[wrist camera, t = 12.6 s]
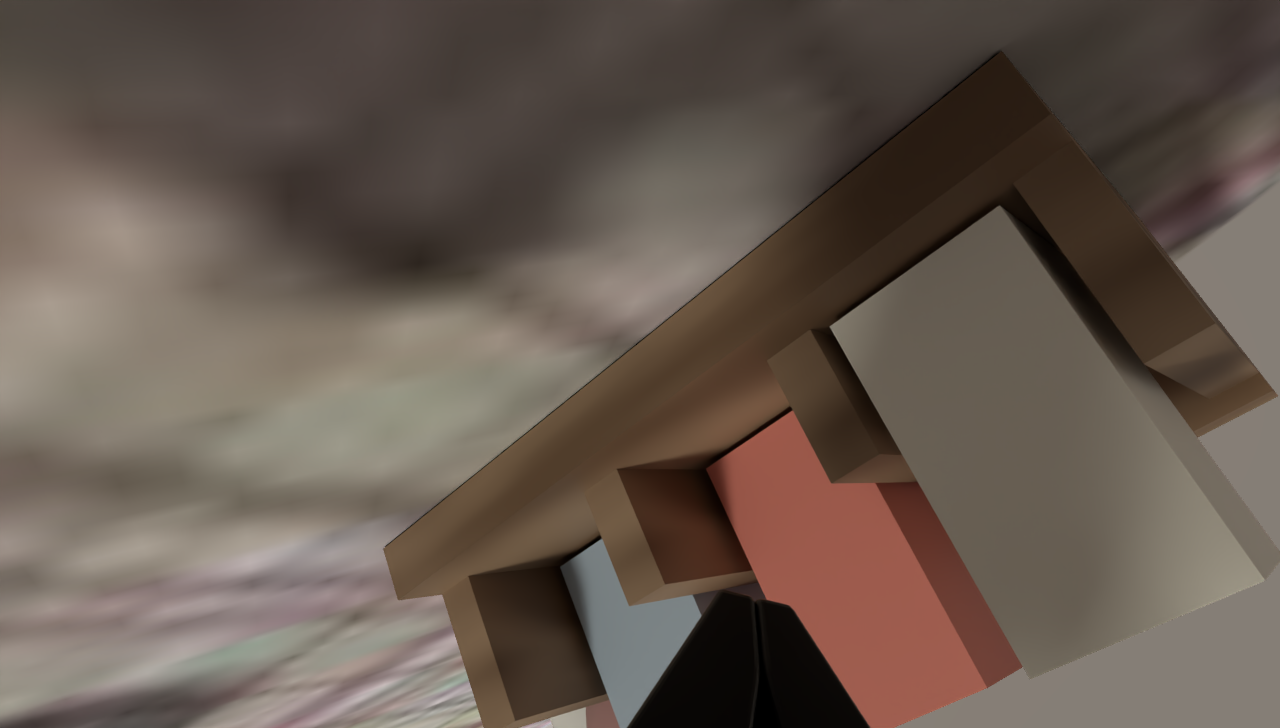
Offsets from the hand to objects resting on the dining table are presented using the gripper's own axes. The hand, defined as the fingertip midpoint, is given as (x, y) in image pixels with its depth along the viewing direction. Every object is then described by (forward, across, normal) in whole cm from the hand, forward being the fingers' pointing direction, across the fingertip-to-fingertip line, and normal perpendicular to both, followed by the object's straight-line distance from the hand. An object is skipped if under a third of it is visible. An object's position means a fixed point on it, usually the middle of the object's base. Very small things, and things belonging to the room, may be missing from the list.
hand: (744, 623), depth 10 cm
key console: (+14, +1, -6) cm, 15 cm away
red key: (+13, +3, -7) cm, 15 cm away
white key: (+11, +4, -1) cm, 12 cm away
